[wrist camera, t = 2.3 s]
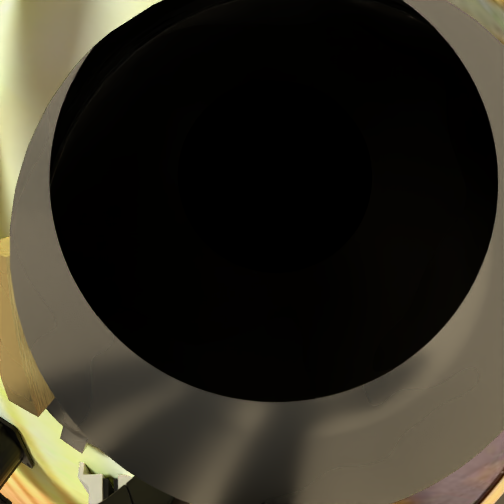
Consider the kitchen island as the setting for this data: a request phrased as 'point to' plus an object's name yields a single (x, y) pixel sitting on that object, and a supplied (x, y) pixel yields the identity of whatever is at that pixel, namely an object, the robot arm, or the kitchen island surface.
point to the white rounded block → (99, 484)
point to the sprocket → (26, 362)
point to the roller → (273, 247)
